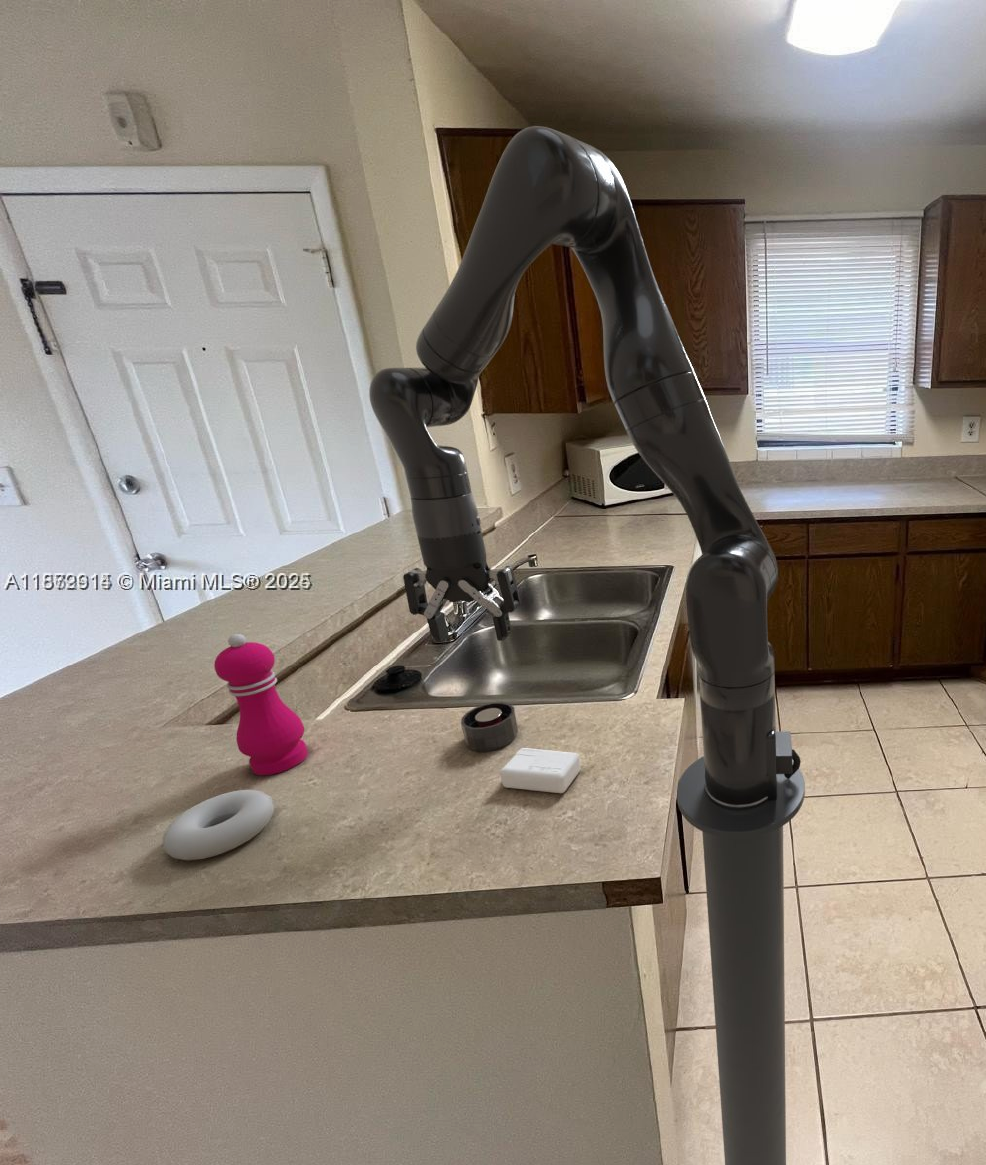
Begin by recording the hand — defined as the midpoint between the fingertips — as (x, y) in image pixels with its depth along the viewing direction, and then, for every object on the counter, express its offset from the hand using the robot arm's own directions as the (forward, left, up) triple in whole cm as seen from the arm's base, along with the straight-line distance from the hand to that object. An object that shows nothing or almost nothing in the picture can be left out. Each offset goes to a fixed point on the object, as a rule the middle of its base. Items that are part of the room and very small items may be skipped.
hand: (473, 639), depth 84 cm
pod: (0, 0, -16) cm, 16 cm away
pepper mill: (+28, +5, -17) cm, 33 cm away
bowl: (0, 0, -17) cm, 17 cm away
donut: (+24, +19, -17) cm, 35 cm away
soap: (-11, +10, -17) cm, 22 cm away
